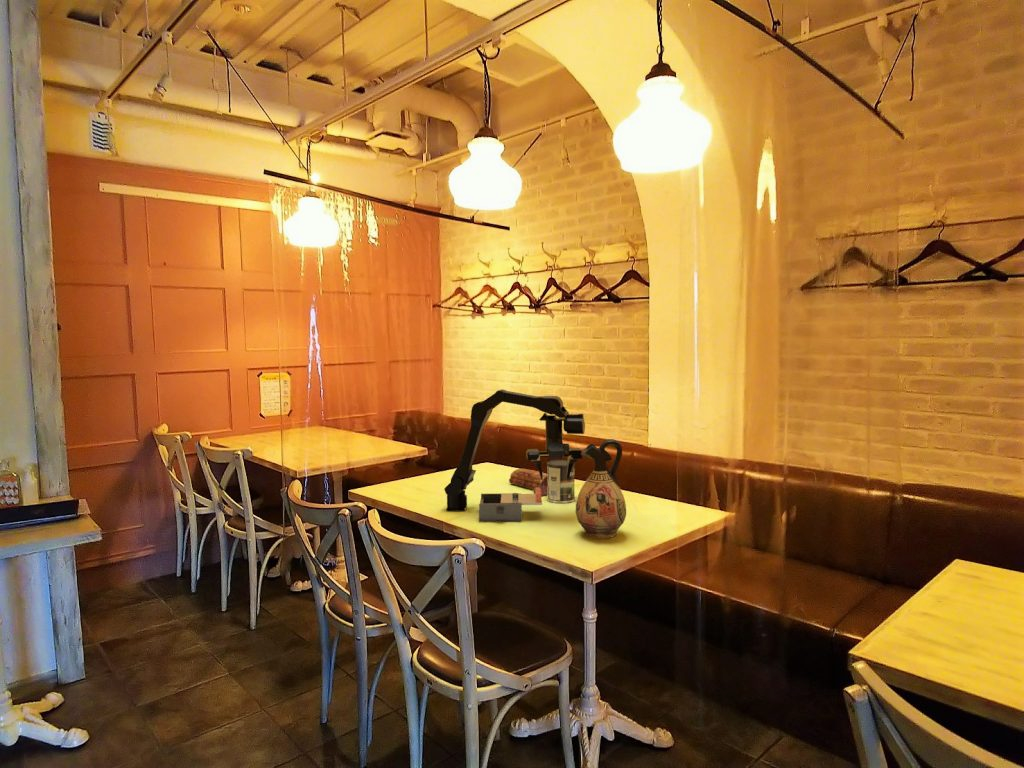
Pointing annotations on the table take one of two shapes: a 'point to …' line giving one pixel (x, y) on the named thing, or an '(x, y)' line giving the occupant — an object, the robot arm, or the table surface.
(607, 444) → the ceramic jug
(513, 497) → the lid
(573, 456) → the robot arm
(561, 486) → the coffee can
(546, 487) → the cured meat
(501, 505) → the grey box
